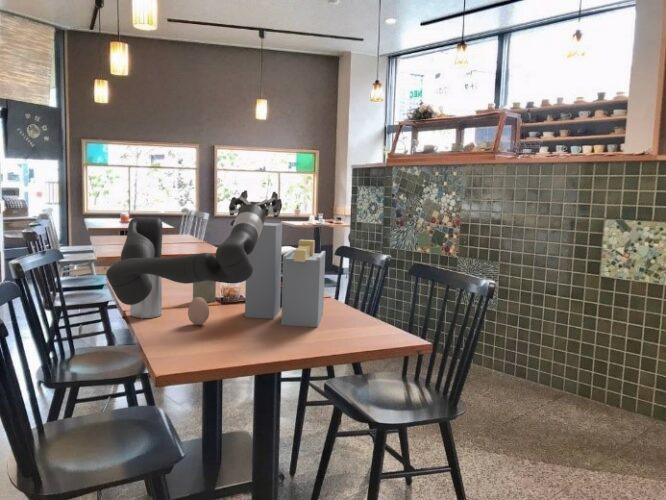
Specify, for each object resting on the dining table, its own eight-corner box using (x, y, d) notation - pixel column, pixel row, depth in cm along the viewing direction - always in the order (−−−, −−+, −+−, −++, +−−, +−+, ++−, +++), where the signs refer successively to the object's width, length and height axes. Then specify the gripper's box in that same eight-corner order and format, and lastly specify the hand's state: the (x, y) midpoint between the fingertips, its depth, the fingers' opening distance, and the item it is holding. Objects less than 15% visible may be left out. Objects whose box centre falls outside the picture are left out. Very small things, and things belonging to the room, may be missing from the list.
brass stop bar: (307, 261, 171) (307, 246, 171) (291, 261, 172) (292, 245, 171) (314, 254, 191) (314, 240, 190) (300, 253, 191) (300, 239, 191)
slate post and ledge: (317, 327, 178) (321, 229, 174) (239, 322, 180) (241, 226, 176) (323, 313, 197) (326, 225, 194) (252, 309, 199) (254, 222, 196)
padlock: (216, 301, 210) (216, 263, 208) (195, 303, 206) (195, 264, 204) (212, 299, 214) (213, 261, 212) (192, 301, 210) (192, 262, 208)
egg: (187, 328, 171) (188, 299, 170) (187, 322, 178) (187, 295, 177) (209, 327, 173) (209, 299, 172) (208, 322, 179) (208, 294, 178)
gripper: (273, 213, 144) (283, 183, 157) (220, 211, 145) (235, 181, 158) (275, 237, 148) (285, 205, 161) (224, 234, 149) (237, 203, 162)
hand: (260, 193), depth 159 cm, fingers open, 8 cm apart
